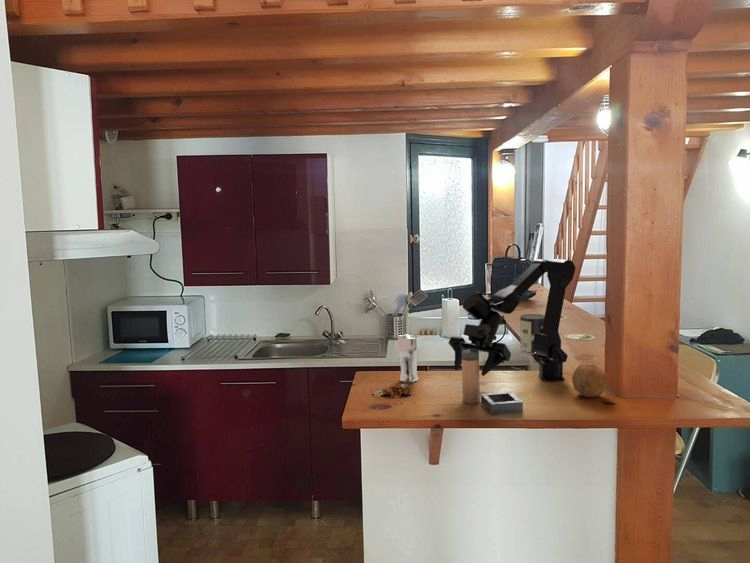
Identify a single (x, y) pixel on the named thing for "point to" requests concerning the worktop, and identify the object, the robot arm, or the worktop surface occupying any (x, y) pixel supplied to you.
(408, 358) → the beer glass
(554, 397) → the worktop surface
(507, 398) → the collar
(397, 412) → the worktop surface
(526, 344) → the coffee can
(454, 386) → the worktop surface
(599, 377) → the mottled tan ball
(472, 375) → the cylindrical peg
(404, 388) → the mottled brown lump
